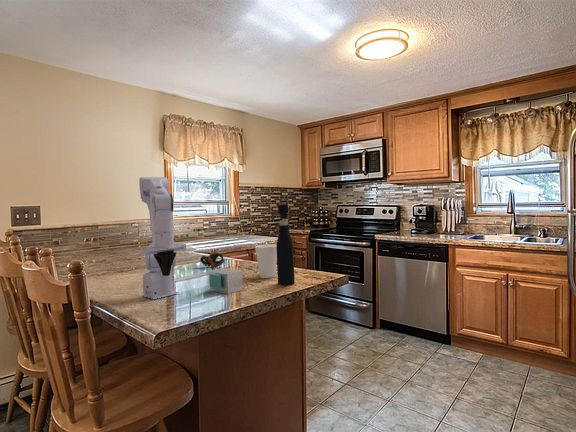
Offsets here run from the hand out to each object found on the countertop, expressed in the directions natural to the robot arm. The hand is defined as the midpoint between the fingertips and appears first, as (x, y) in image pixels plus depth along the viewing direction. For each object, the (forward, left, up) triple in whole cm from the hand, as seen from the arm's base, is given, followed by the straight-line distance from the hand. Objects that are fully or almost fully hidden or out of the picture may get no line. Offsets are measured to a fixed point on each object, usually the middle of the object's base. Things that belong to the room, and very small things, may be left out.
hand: (166, 275), depth 109 cm
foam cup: (+47, 0, -10) cm, 48 cm away
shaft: (+22, -2, -8) cm, 23 cm away
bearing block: (+23, -2, -9) cm, 24 cm away
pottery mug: (+49, +39, -10) cm, 63 cm away
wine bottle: (+41, -15, -10) cm, 45 cm away
